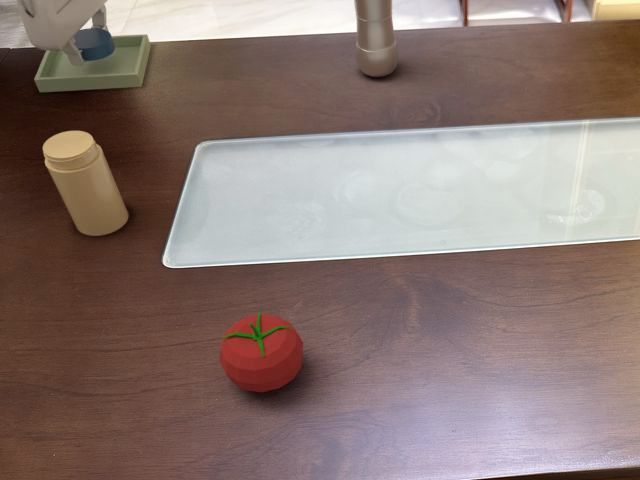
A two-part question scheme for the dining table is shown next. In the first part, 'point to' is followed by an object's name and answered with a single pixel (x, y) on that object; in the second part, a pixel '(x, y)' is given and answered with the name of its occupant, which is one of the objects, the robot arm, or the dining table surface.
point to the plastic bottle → (375, 37)
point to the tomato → (261, 353)
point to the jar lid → (94, 43)
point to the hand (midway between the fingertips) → (91, 50)
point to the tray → (97, 68)
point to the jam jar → (85, 182)
